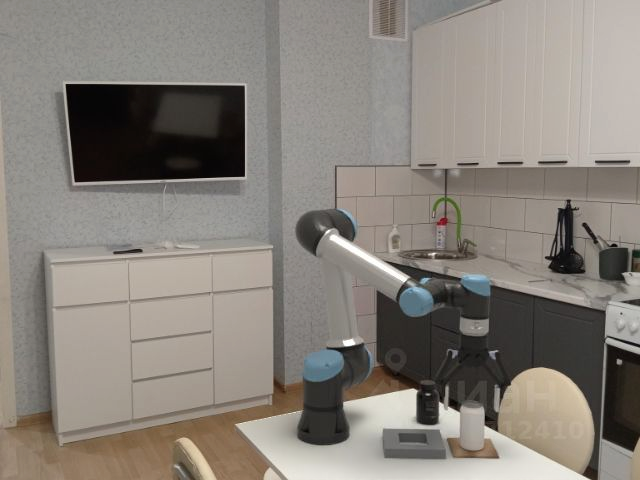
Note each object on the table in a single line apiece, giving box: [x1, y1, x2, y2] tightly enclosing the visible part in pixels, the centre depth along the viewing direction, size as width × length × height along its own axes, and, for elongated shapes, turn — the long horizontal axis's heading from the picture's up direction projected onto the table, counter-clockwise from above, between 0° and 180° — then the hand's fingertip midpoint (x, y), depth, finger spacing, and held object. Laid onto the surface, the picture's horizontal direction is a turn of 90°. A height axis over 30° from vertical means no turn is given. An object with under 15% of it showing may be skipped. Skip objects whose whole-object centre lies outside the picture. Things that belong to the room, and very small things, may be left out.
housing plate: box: [382, 428, 447, 460], centre depth 178 cm, size 16×14×2 cm
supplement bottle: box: [415, 379, 440, 426], centre depth 197 cm, size 7×7×12 cm
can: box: [459, 400, 486, 451], centre depth 177 cm, size 6×6×12 cm
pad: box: [446, 437, 500, 459], centre depth 177 cm, size 12×12×1 cm
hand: (471, 409), depth 176 cm, fingers open, 13 cm apart
